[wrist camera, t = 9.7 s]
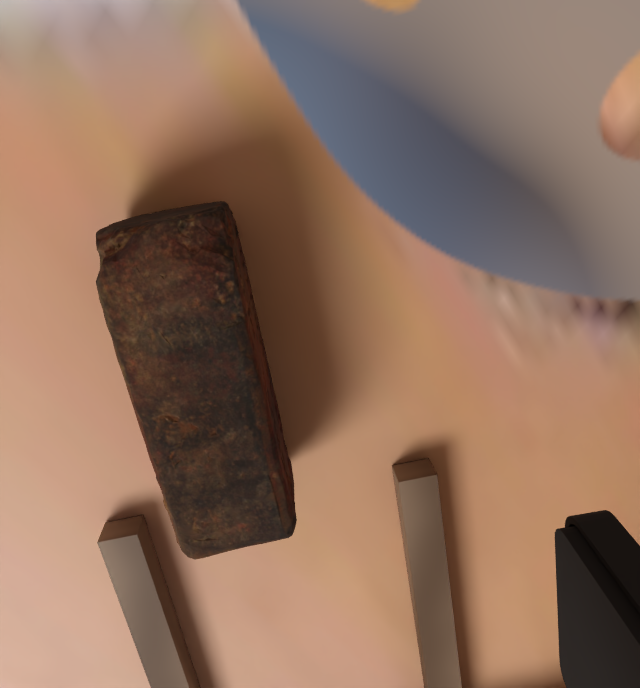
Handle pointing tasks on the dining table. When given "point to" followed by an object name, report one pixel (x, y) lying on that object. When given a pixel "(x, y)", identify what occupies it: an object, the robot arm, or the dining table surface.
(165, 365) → the brick
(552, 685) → the dining table surface
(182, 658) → the lane rack
